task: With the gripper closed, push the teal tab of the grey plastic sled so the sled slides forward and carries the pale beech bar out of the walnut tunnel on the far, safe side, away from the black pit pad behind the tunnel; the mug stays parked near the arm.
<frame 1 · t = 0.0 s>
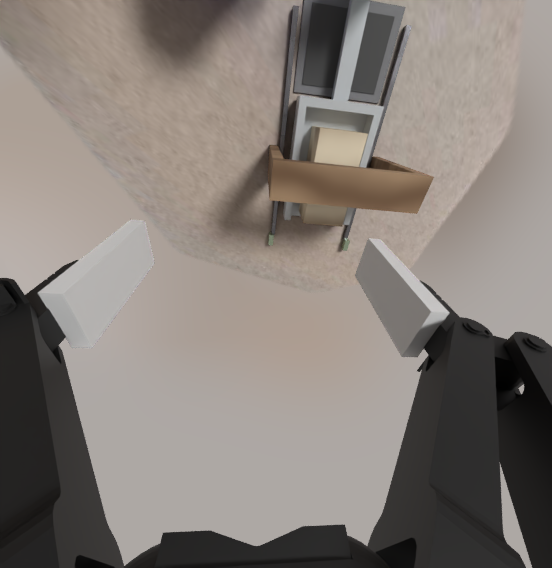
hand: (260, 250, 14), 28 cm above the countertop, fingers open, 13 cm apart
bar: (323, 174, 37), point 1 cm above the countertop, touching sled
pit pad: (345, 52, 30), on the countertop
track: (323, 165, 37), on the countertop
sled: (341, 122, 30), point 5 cm above the countertop, slide at 0.0 cm, touching bar
tunnel: (323, 165, 37), on the countertop
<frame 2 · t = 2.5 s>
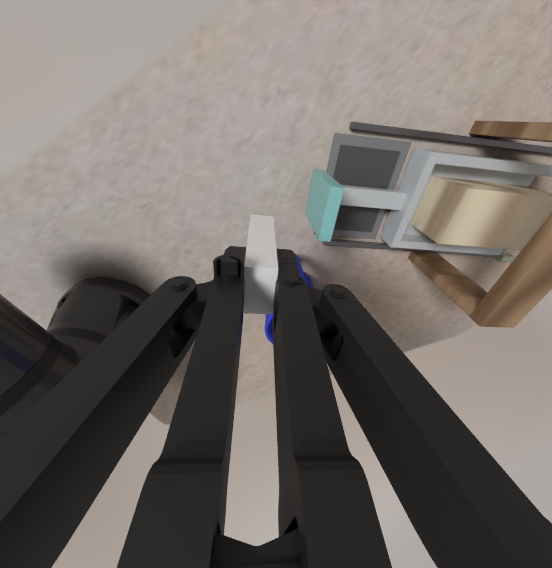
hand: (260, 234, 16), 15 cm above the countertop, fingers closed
bar: (463, 205, 30), point 1 cm above the countertop, touching sled
pit pad: (357, 192, 30), on the countertop
track: (450, 201, 31), on the countertop
sled: (433, 211, 26), point 5 cm above the countertop, slide at 0.0 cm, touching bar
tunnel: (450, 201, 31), on the countertop
mug: (289, 273, 37), on the countertop
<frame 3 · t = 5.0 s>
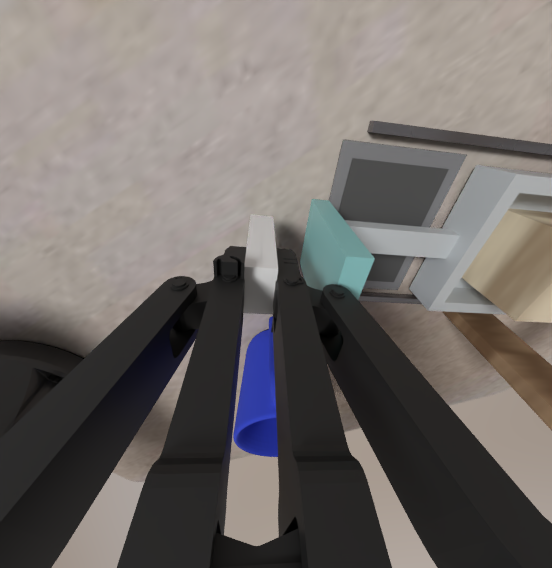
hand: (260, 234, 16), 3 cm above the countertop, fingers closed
bar: (540, 248, 20), point 1 cm above the countertop, touching sled
pit pad: (375, 229, 20), on the countertop
track: (513, 240, 21), on the countertop
sled: (508, 268, 16), point 5 cm above the countertop, slide at 0.3 cm, touching bar, gripper
tunnel: (513, 240, 21), on the countertop
mug: (276, 331, 27), on the countertop
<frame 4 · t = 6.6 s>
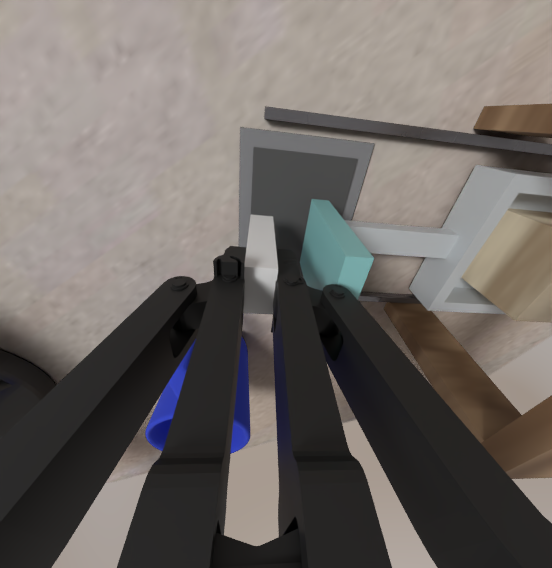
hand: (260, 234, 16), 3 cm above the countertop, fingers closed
bar: (539, 248, 20), point 1 cm above the countertop, touching sled
pit pad: (295, 222, 19), on the countertop
track: (442, 234, 20), on the countertop
sled: (508, 268, 16), point 5 cm above the countertop, slide at 7.1 cm, touching bar, gripper
tunnel: (442, 234, 20), on the countertop
mug: (215, 329, 26), on the countertop
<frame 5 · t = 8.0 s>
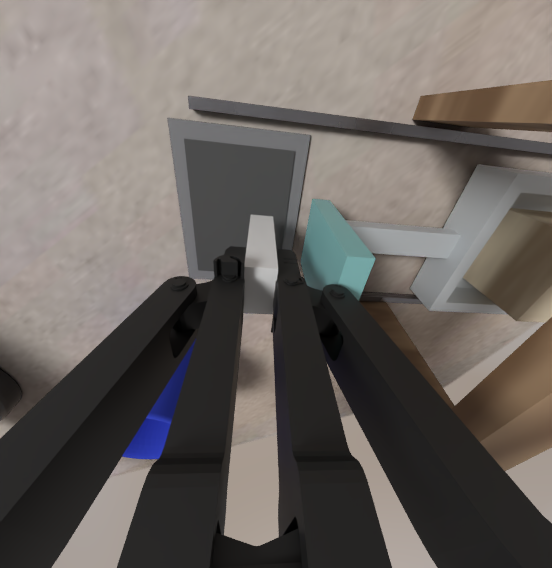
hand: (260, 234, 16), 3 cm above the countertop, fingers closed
bar: (541, 248, 20), point 1 cm above the countertop, touching sled
pit pad: (240, 217, 18), on the countertop
track: (395, 230, 20), on the countertop
sled: (510, 268, 16), point 5 cm above the countertop, slide at 11.6 cm, touching bar, gripper
tunnel: (395, 230, 20), on the countertop
mug: (173, 327, 25), on the countertop
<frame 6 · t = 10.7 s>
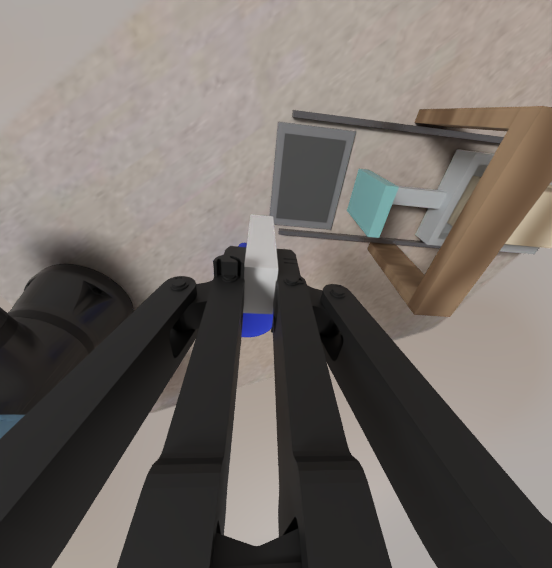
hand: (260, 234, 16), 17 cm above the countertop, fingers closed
bar: (501, 204, 31), point 1 cm above the countertop, touching sled
pit pad: (307, 182, 30), on the countertop
track: (403, 192, 31), on the countertop
sled: (474, 209, 27), point 5 cm above the countertop, slide at 12.0 cm, touching bar
tunnel: (403, 192, 31), on the countertop
mug: (249, 263, 37), on the countertop
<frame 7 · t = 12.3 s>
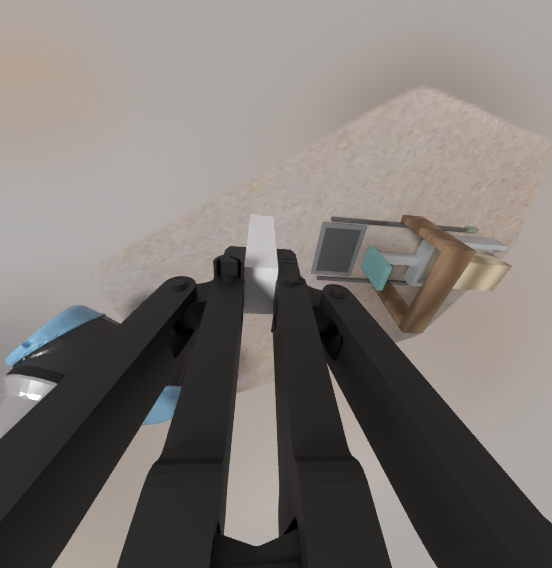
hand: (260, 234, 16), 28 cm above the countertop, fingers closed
bar: (454, 261, 51), point 1 cm above the countertop, touching sled
pit pad: (337, 250, 49), on the countertop
track: (395, 255, 51), on the countertop
sled: (436, 269, 47), point 5 cm above the countertop, slide at 12.0 cm, touching bar
tunnel: (395, 255, 51), on the countertop
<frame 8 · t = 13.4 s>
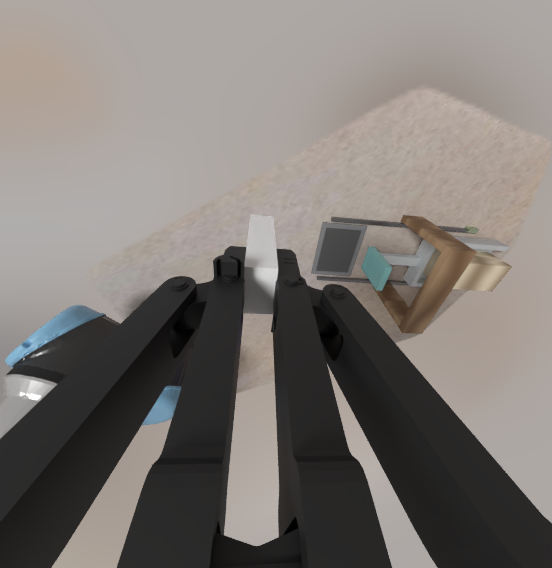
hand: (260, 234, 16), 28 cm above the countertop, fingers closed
bar: (454, 262, 51), point 1 cm above the countertop, touching sled
pit pad: (337, 251, 49), on the countertop
track: (395, 255, 51), on the countertop
sled: (436, 269, 47), point 5 cm above the countertop, slide at 12.0 cm, touching bar
tunnel: (395, 255, 51), on the countertop
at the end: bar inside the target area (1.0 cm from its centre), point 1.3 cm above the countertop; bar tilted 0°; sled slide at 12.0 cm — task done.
